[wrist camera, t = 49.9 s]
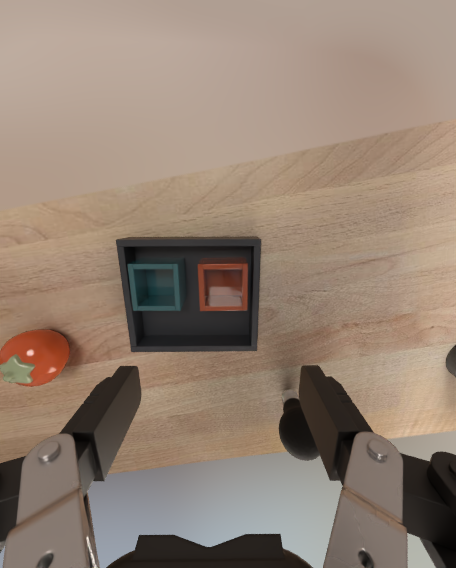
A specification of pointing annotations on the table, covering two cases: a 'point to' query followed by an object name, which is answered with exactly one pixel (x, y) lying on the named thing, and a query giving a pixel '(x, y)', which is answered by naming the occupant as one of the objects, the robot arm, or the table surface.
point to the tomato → (34, 357)
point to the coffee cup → (451, 361)
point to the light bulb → (296, 429)
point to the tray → (192, 297)
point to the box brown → (223, 284)
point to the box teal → (158, 283)
